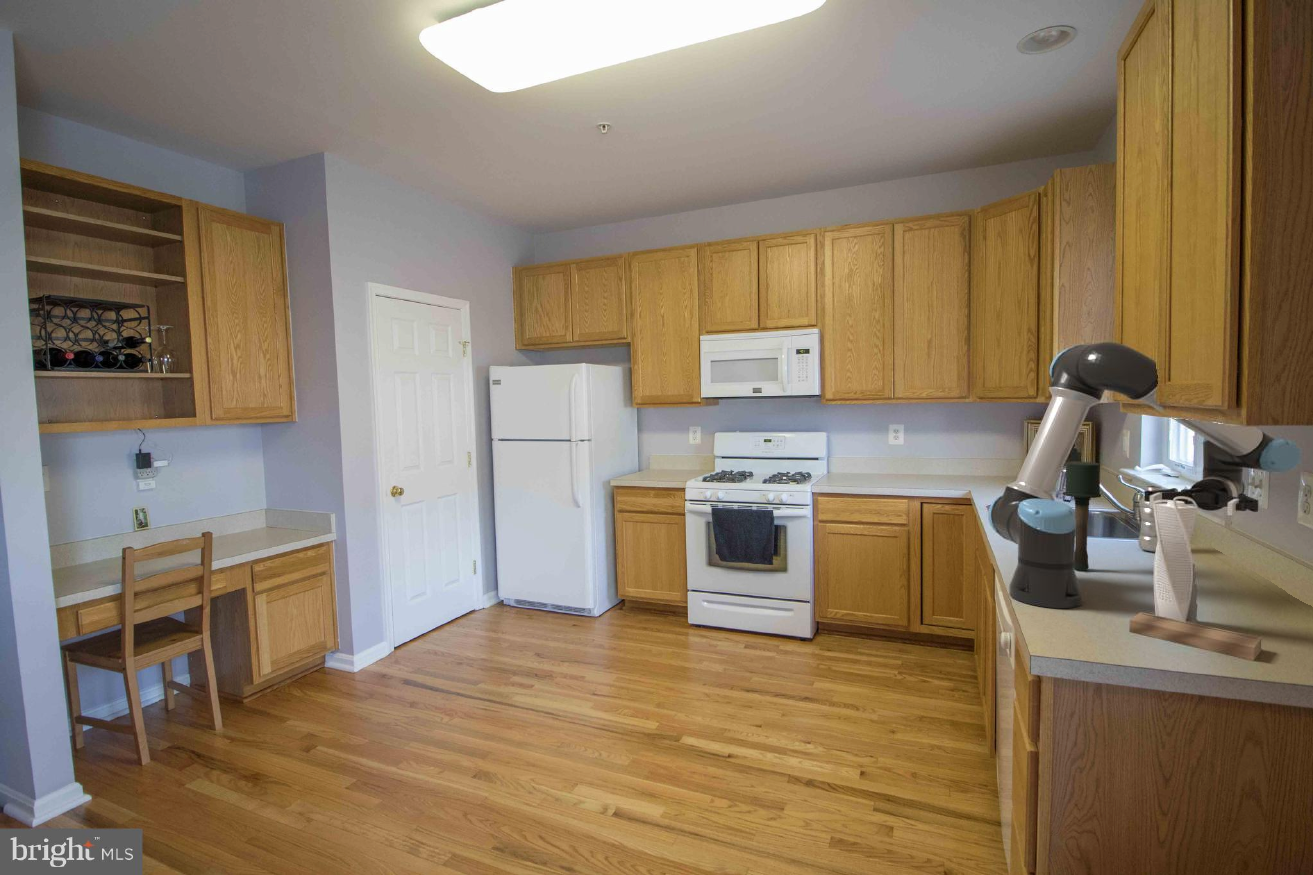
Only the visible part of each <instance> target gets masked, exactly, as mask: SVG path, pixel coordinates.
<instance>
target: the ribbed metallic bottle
mask: <svg viewBox="0 0 1313 875" xmlns="http://www.w3.org/2000/svg"><path fill="white" fill-rule="evenodd" d="M1153 490H1162V486H1158V485H1157V486H1156V485H1146V486H1145V490H1144V492H1145V491H1153ZM1162 504H1167V503H1162ZM1138 505H1139V510H1140V511H1139V512H1140V520H1141V524H1140V525H1141V526H1140V532H1139V533H1140V534H1139V537H1138V541H1137V542H1138V546H1139V548H1140V549H1141V550H1143V551H1147V552H1150V553H1156V547H1157V542H1158V538H1157V531H1156V524H1155V516H1154V508H1150V502H1145V501H1144V496H1143V497H1142V498H1141V499H1140V500H1139V504H1138Z"/></svg>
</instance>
